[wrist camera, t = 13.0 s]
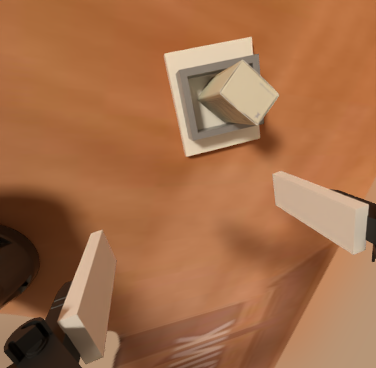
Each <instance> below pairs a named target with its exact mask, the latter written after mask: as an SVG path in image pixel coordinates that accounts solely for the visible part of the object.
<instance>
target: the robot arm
mask: <svg viewBox="0 0 376 368" xmlns="http://www.w3.org/2000/svg"><path fill="white" fill-rule="evenodd" d="M273 184H274V193H275V203H276V206H278V207H280V208H281V209H283V210H284V211H286V212H287V213H289V214H290V215H292V216H294V217H295V218H297V219H298V220H300V221H301V222H303V223H304V224H306V225H308V226H309V227H311V228H312V229H314V230H315V231H317V232H318V233H320V234H322V235H323V236H325V237H326V238H328V239H329V240H331V241H332V242H334V243H336V244H337V245H339V246H340V247H342V248H343V249H345V250H347V251H348V252H350V253H351V254H353V255H354V254H357V253H359V252H361V251H364V250H365V248H366V240H367V241H369V242H371V243H373V252H372V262H374V261H375V259H376V204H374V203H372V202H369V201H366V200H364V199H361V198H358V197H355V196H353V195H350V194H349V195H348V194H347V193H345V192H342V191H339V190H333V189H327V188H324V187H322V186H319V185H317V184H314V183H311V182H309V181H306V180H304V179H301V178H298V177H296V176H293V175H290V174H288V173H285V172H283V171H280V172H277V173H274V174H273ZM116 262H117V260H116V258H115V256H114V254H113V252H112V250H111V247H110V245H109V243H108V241H107V239H106V237H105V234H104V232H103V230H100V231H97V232H94V233H91V235H90V238H89V240H88V243H87V245H86V248H85V251H84V253H83V256H82V258H81V261H80V264H79V266H78V269H77V271H76V274H75V276H74V279H73V281H70V282H67V283H65V284H64V285H63V286H62V288H61V289H60V290H59V291H58V293H57V295H56V297H55V299H54V302H53V304H52V306H51V310H50V311H49V313H48V315H47V317H46V320H44V319H43V318H41V317H39V318H34V319H32V320H29V321H27V322H26V323H24V324H23V325H21V326H20V327H19V328H18V329H16V330H15V331H14V332H13V333H12V335H11V336H10V337H9V338H8V340H7V341H6V343H5V346H4V352H5V354H6V355H7V356H8V357H9V358H10V359H11V360H12V362H13V364H12V365H10V366H9V367H7V368H82V367H81V366H80V365H79V360H80V357H81V358H82V359H83V361H84V362H85V364H88V363H90V362H93V361H95V360H98V359H100V358H102V357H103V356H104V349H105V342H106V334H107V327H108V320H109V313H110V305H111V298H112V291H113V284H114V276H115V269H116ZM38 269H39V256H38V253H37V251H36V249H35V247H34V246H33V244H32V243H31V242H30V241H29V240H28V239H27V238H26V237H25V236H23V235H22V234H21V233H19V232H17V231H15V230H13V229H11V228H9V227H6V226H2V225H0V309H1V308H3V307H4V306H5V305H7V304H8V303H9V302H11V301H12V300H13V299H15V298H16V297H17V296H19V295H20V294H21V293H22V292H24V291H25V290H26V289H27V287H28V286H29V285H30V283H31V282H32V281H33V279H34V278H35V276H36V274H37V272H38Z"/></svg>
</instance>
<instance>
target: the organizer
mask: <svg viewBox="0 0 376 368" xmlns="http://www.w3.org/2000/svg"><path fill="white" fill-rule="evenodd" d="M164 60H165V65H166V69H167V74H168V78H169V83H170V88H171V92H172V97H173V101H174V106H175V111H176V115H177V120H178V125H179V129H180V134H181V138H182V143H183V148H184V152H185V156H186V157H188V156H192V155H196V154H200V153H204V152H208V151H212V150H216V149H220V148H224V147H228V146H231V145H235V144H239V143H243V142H247V141H251V140H255V139H259V138H260V129H259V125H260V124H264V117H263V119H262V120H261V121H260V123H259V124H258V125H249V124H239V123H230V122H223V121H222V120H221V119H219V118H218V117H217V116H216V115H214V114H213V113H212V112H211V111H209V110H208V109H207V108H206V107H205V106H203V105H202V104H201V103H200V102H199V101H198V100H197V99H198V97H199V95H200V94H201V92H202V91H203V90H204V88H205V87H206V85H207V84H208V82H209V81H210V80H211V78H212V77H214V76H216V75H217V74H219V73H221V72H222V71H224V70H226V69H227V68H229V67H231V66H233V65H234V64H236V63H238V62H239V61H241V60H244V61H245V62H246V63H247V64H249V65H250V66H251V67H252V68H253V69H254V70H255V71H256V72H257V73H258V74H259V75H260V65H259V54H255V55H253V48H252V37H248V38H243V39H238V40H233V41H228V42H222V43H217V44H212V45H207V46H202V47H196V48H191V49H186V50H181V51H176V52H170V53H165V54H164Z"/></svg>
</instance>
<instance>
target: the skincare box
mask: <svg viewBox="0 0 376 368" xmlns="http://www.w3.org/2000/svg"><path fill="white" fill-rule="evenodd" d="M278 96H279V94H278V93H277V92H276V90H275V89H274V88H273V87H272V86H271V85H270V84H269V83H268V82H267V81H266V80H265V79H264V78H262V77H261V76H260V75H259V74H258V73H257V72H256V71H255V70H254V69H253V68H252V67H251V66H250V65H249V64H247V63H246V62H245V61H244V60H241V61H239V62H238V63H236V64H234V65H233V66H231V67H229V68H227V69H226V70H224V71H222V72H221V73H219V74H217V75H216V76H214V77H212V78H211V80H210V81H209V82H208V84H207V85H206V87H205V88H204V90H203V91H202V92H201V94H200V95H199V97H198V99H197V100H198V101H199V102H200V103H201V104H202V105H203V106H205V107H206V108H207V109H208V110H209V111H211V112H212V113H213V114H214V115H216V116H217V117H218V118H219V119H221V120H222V121H223V122H230V123H239V124H249V125H258V124H259V123H260V121H261V120H262V119H263V117H264V116H265V115H266V113H267V112H268V111H269V109H270V108H271V107H272V105H273V104H274V102H275V101H276V99H277V98H278Z"/></svg>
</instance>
